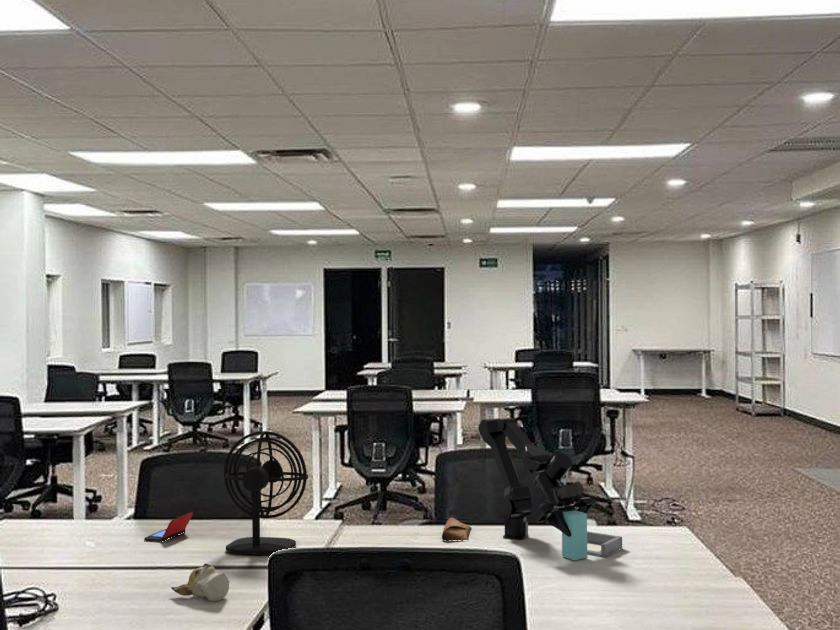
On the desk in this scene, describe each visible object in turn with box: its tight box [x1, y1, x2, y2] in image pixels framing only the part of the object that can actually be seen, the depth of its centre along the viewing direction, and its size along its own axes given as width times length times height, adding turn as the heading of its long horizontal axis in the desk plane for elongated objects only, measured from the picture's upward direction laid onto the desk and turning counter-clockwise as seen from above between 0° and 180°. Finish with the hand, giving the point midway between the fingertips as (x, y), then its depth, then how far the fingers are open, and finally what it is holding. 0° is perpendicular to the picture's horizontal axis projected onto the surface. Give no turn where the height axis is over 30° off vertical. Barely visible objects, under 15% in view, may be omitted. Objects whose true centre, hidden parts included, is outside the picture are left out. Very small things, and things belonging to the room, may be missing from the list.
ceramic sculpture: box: [171, 563, 230, 602], centre depth 213 cm, size 11×9×15 cm
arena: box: [587, 530, 623, 558], centre depth 251 cm, size 11×11×4 cm
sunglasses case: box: [441, 517, 472, 541], centre depth 272 cm, size 18×7×7 cm
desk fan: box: [223, 430, 309, 556], centre depth 258 cm, size 27×18×35 cm, turn 78°
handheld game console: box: [144, 511, 194, 543], centre depth 273 cm, size 12×11×7 cm
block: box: [561, 510, 588, 561], centre depth 243 cm, size 5×5×12 cm
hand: (577, 534), depth 241 cm, fingers closed on block, 5 cm apart
